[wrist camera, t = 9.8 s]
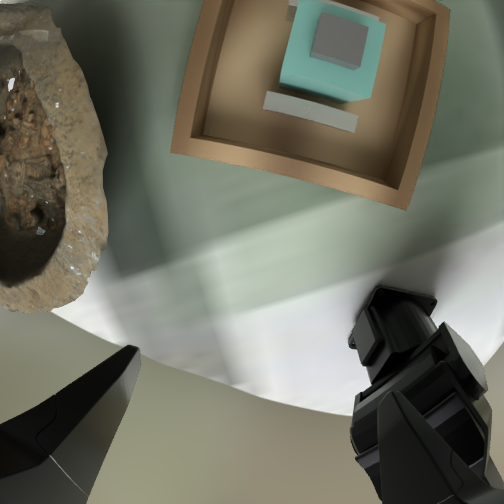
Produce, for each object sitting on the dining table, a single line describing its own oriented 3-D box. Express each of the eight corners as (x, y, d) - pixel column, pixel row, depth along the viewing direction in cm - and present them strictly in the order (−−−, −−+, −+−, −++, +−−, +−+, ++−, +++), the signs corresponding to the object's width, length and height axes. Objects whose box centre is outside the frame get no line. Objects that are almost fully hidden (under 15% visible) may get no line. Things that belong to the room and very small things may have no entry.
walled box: (426, 21, 13) (450, 9, 10) (387, 195, 19) (406, 211, 16) (231, -34, 13) (224, -58, 9) (187, 146, 19) (170, 152, 15)
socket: (365, 30, 14) (379, 17, 11) (342, 130, 17) (354, 133, 14) (289, 8, 14) (291, -9, 11) (264, 110, 17) (262, 108, 14)
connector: (354, 49, 15) (394, 18, 8) (341, 104, 16) (378, 96, 10) (292, 31, 14) (302, -13, 8) (278, 86, 16) (281, 67, 10)
